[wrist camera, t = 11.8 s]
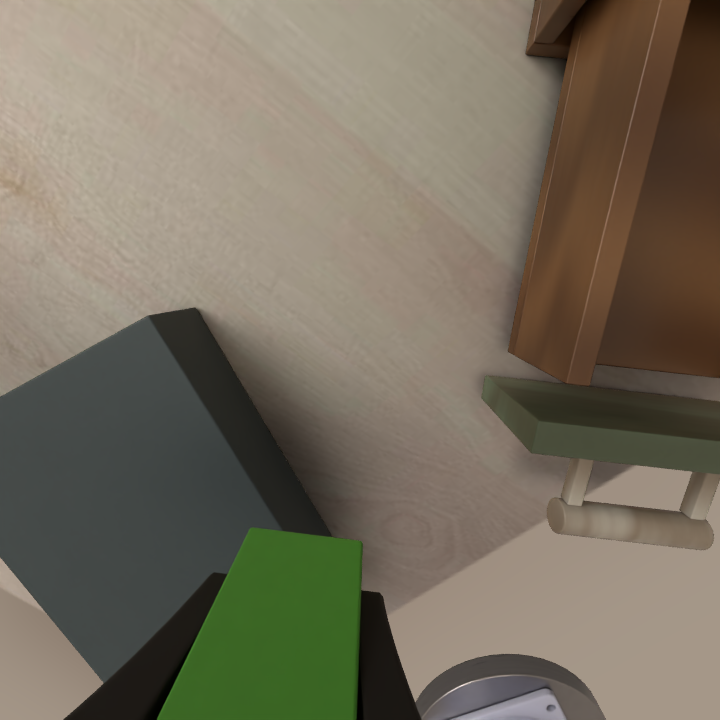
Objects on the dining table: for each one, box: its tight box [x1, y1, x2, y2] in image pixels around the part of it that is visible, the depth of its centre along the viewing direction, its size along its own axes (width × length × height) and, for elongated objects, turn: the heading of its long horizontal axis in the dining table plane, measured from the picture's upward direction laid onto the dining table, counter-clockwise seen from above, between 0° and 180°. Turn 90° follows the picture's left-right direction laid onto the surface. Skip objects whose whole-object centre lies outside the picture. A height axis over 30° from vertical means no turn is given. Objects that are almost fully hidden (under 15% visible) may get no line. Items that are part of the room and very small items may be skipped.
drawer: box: [481, 0, 720, 550], centre depth 13 cm, size 23×11×6 cm, turn 174°
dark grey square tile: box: [0, 308, 332, 683], centre depth 19 cm, size 15×13×4 cm
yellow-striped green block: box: [157, 527, 363, 720], centre depth 8 cm, size 5×3×6 cm, turn 173°
